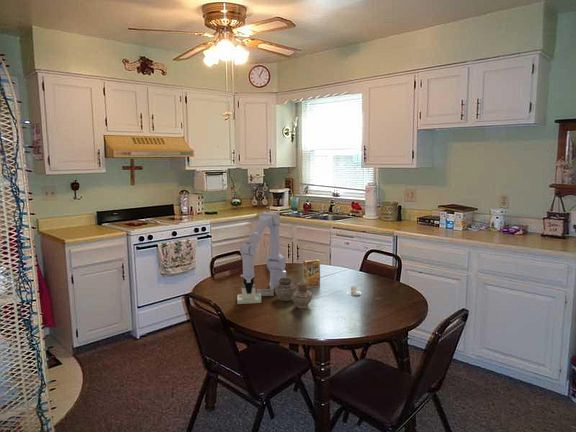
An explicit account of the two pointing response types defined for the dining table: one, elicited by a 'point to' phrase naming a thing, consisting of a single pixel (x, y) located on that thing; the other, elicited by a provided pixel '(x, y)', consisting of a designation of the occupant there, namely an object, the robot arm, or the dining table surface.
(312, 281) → the candy box
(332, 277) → the dining table surface
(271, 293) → the bay
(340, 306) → the dining table surface
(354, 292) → the white headphones
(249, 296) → the block
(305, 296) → the pottery
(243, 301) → the tray
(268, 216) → the robot arm
